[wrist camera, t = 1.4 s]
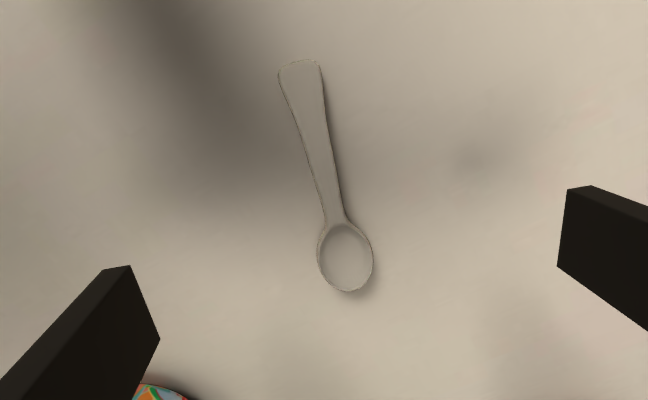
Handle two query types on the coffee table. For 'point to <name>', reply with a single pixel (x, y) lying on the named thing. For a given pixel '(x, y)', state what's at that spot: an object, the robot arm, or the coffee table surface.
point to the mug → (155, 393)
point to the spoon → (326, 180)
